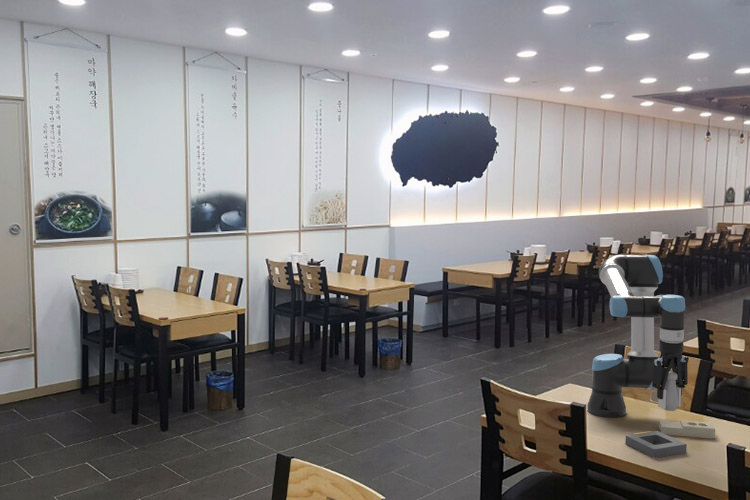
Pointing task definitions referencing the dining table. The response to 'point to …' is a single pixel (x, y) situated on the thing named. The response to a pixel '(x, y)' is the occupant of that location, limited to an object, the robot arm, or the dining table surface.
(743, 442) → the dining table surface
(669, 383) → the salt shaker
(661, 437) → the caddy block
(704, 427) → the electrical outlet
